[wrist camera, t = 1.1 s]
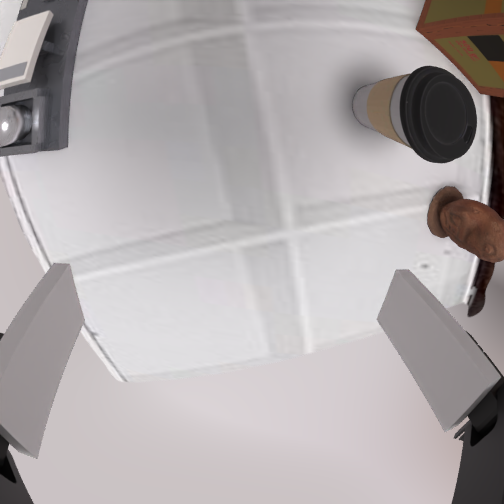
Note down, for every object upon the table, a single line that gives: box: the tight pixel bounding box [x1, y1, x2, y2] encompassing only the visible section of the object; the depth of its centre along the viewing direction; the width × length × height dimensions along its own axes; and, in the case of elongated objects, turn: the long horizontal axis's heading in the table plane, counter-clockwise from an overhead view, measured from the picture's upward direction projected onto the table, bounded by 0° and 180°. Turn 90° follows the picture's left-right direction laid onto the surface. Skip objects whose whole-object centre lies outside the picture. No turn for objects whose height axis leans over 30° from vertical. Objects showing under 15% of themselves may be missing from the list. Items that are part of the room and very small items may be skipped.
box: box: [416, 0, 504, 97], centre depth 18 cm, size 17×9×20 cm, turn 67°
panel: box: [0, 0, 88, 157], centre depth 20 cm, size 26×10×5 cm, turn 172°
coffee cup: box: [353, 66, 477, 163], centre depth 25 cm, size 9×9×15 cm
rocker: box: [0, 10, 54, 89], centre depth 17 cm, size 9×6×1 cm, turn 173°
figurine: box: [427, 186, 504, 263], centre depth 34 cm, size 9×10×15 cm
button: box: [0, 105, 32, 147], centre depth 20 cm, size 4×4×4 cm
